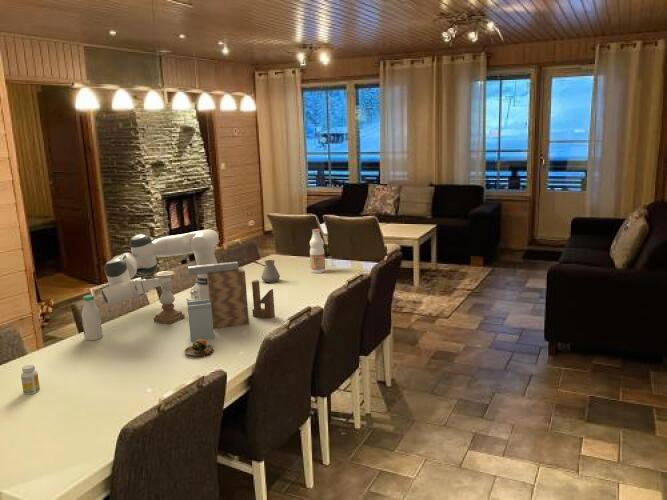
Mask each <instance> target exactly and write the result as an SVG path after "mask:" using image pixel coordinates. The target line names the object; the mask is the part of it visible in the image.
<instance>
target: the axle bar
mask: <svg viewBox="0 0 667 500" xmlns="http://www.w3.org/2000/svg"><path fill="white" fill-rule="evenodd" d="M239 267H240V266H239V261H229V262H220V263H218V262H217V264H207V265H198V266H197V265H191V266H189V265H188V266H187V273H188V276H198V275H200V274H210V273H219V272H228V271H238V270H239Z"/></svg>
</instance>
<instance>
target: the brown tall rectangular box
mask: <svg viewBox="0 0 667 500" xmlns="http://www.w3.org/2000/svg"><path fill="white" fill-rule="evenodd" d="M238 267H239V270H238V271H228V272H219V273H210V274H207V282H208V293H209V299H210V303H211V309H212V320H213V330H216V329H223V328H230V327H238V326H244V325H246V326H247V325H249V324H250V320H249V307H248V294H247V280H246V270H245V269H244V268H243V266H238Z"/></svg>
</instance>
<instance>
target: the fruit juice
mask: <svg viewBox="0 0 667 500" xmlns="http://www.w3.org/2000/svg"><path fill="white" fill-rule="evenodd" d="M311 232H312V234H311V238H310V240H309V246H310V249H309V260H310V263H309V264H310V272H311V273H312V274H321V273H325V272H326V260H325V259H326V257H325V249H324V244H325V243H324V240H323V238H322V237H321V234H320V232H321V230H320V228H313V229H312V230H311Z"/></svg>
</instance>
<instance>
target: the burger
mask: <svg viewBox="0 0 667 500" xmlns="http://www.w3.org/2000/svg"><path fill="white" fill-rule="evenodd" d="M195 342H196V343H195ZM195 342H193V343H192V345H191V346H189V347H187V348H186V349H185V350H184V353H185V354H186V355H188V356H192V357H199V356H202V358H206V357H208V354H210V355H213V354H214V351H215V350H214V346H212V345H211V344H207V341H206V339H198V340H197V341H195Z"/></svg>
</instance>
